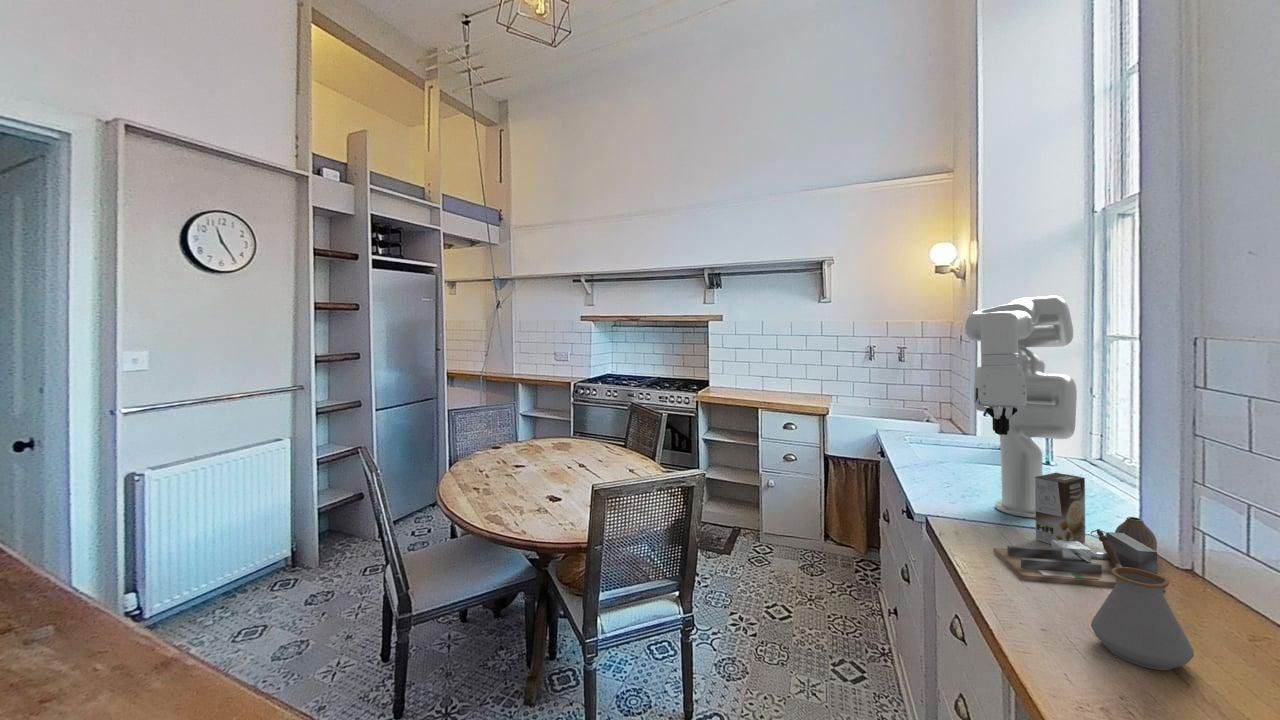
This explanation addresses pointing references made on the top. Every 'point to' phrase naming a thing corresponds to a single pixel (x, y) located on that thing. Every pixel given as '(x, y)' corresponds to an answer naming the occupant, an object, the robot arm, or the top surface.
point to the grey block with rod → (1075, 552)
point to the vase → (1138, 532)
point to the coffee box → (1060, 508)
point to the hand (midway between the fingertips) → (1000, 433)
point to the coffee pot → (1140, 619)
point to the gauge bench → (1078, 563)
